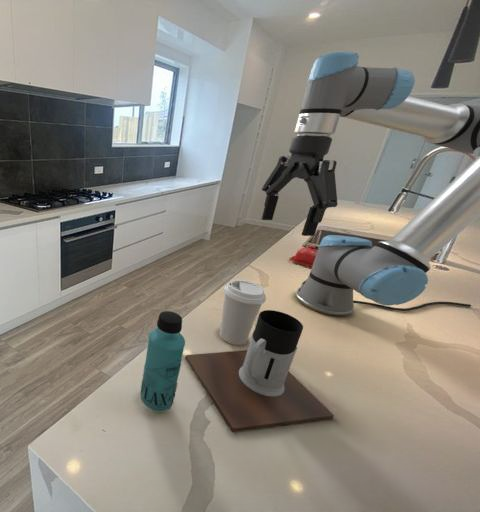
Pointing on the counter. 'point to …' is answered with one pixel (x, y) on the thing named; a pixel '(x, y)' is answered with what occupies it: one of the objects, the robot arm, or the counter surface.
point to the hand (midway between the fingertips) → (285, 227)
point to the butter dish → (305, 256)
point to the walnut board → (253, 395)
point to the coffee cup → (240, 310)
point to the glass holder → (270, 352)
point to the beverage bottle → (163, 362)
